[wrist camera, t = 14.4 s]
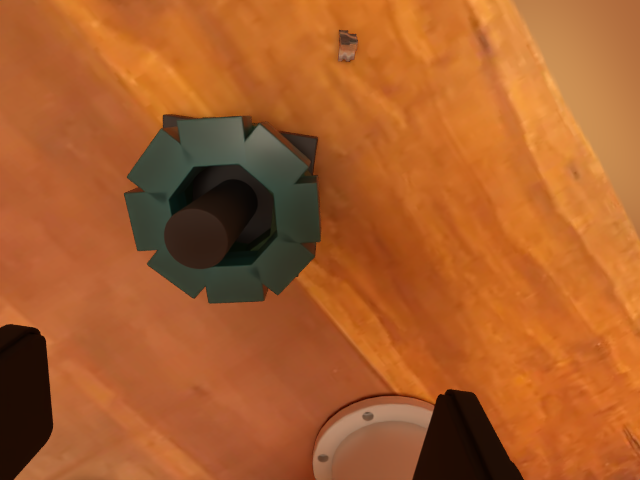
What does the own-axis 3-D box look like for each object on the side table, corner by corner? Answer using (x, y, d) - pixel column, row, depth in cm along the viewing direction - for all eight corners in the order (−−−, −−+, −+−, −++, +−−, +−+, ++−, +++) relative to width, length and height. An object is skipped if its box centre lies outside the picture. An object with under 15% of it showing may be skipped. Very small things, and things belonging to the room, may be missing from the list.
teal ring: (314, 111, 19) (312, 111, 17) (324, 281, 22) (324, 299, 20) (130, 122, 19) (106, 124, 17) (166, 288, 22) (149, 306, 20)
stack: (323, 132, 22) (321, 143, 14) (303, 274, 26) (292, 347, 18) (165, 108, 22) (75, 106, 14) (164, 254, 25) (90, 320, 17)
